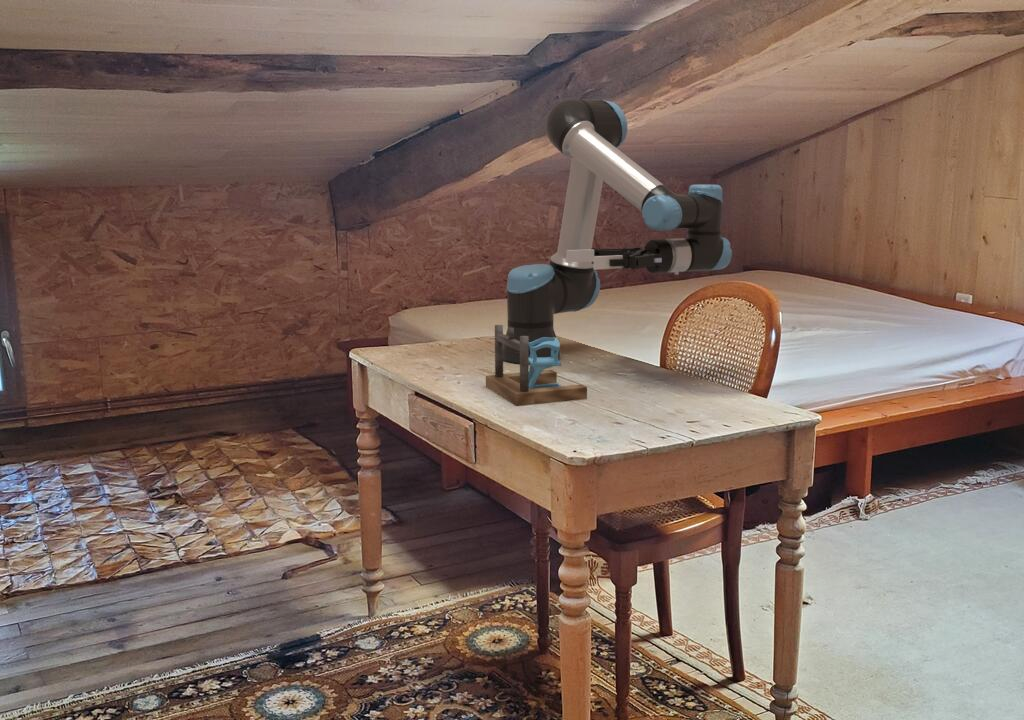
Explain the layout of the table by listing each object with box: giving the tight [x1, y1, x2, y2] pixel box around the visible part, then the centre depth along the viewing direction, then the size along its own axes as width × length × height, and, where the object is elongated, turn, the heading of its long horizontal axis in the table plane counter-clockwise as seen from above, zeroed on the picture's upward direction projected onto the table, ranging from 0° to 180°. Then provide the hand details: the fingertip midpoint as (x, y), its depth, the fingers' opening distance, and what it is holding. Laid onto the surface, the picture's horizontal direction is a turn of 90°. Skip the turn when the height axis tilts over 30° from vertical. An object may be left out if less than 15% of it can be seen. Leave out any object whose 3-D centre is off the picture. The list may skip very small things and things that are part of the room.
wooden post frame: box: [485, 324, 588, 407], centre depth 215 cm, size 16×19×15 cm
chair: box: [529, 337, 562, 389], centre depth 216 cm, size 8×8×12 cm
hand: (580, 259), depth 214 cm, fingers open, 13 cm apart
